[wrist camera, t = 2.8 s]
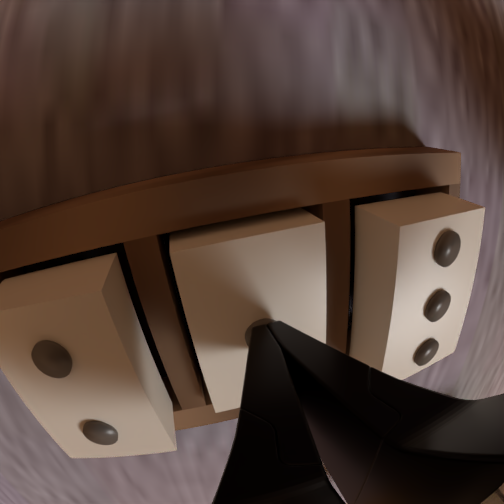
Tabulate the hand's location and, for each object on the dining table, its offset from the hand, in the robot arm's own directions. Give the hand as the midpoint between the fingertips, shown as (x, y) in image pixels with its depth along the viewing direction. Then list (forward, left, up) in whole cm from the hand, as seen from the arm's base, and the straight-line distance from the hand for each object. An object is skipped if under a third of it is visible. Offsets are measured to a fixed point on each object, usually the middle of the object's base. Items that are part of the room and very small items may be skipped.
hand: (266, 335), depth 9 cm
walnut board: (0, 0, -3) cm, 3 cm away
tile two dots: (+6, 0, -1) cm, 6 cm away
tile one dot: (0, 0, -2) cm, 2 cm away
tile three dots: (-5, 0, -1) cm, 5 cm away
